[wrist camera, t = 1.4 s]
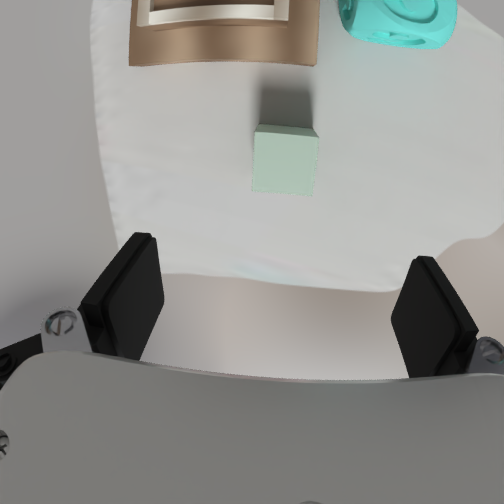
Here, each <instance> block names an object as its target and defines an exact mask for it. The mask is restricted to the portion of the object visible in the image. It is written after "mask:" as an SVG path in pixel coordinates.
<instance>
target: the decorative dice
mask: <svg viewBox="0 0 504 504" xmlns="http://www.w3.org/2000/svg"><path fill="white" fill-rule="evenodd" d="M338 1H339V10H340V16H341V21H342V24H343V27H344V28H345V30H347V31H348V32H349V33H350V34H351V35H352V36H353V37H355V38H357V39H361V40H364V41H369V42H374V43H379V44H385V45H392V46H399V47H408V48H419V49H437V48H440V47H441V46H443V45H444V44H445V43H446V42H447V41H448V40H449V38H450V37H451V35H452V33H453V30H454V27H455V24H456V18H457V1H456V0H338Z"/></svg>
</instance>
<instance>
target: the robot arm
mask: <svg viewBox="0 0 504 504" xmlns="http://www.w3.org/2000/svg"><path fill="white" fill-rule="evenodd" d="M163 305H164V291H163V285H162V279H161V272H160V264H159V257H158V249H157V242H156V238H154V237H152V236H151V234H150V233H140V232H135V233H134V234H133V235H132V236H131V237H130V238H129V240H128V241H127V242H126V243H125V245H124V246H123V247H122V248H121V250H120V251H119V252H118V253H117V255H116V256H115V257H114V258H113V260H112V261H111V262H110V263H109V265H108V266H107V267H106V269H105V270H104V271H103V272H102V274H101V275H100V276H99V278H98V279H97V280H96V282H95V283H94V285H93V286H92V287H91V288H90V290H89V291H88V293H87V294H86V296H85V297H84V298H83V300H82V301H81V305H80V306H79V307H78V309H77V310H76V309H75V308H72V307H62V308H58V309H55V310H53V311H52V312H50V313H49V314H47V315H46V317H45V318H44V319H43V321H42V323H41V329H40V330H41V333H40V334H37V335H35V336H32V337H30V338H27V339H25V340H22V341H20V342H17V343H15V344H12V345H10V346H7V347H5V348H3V349H0V504H504V347H503V345H502V344H500V342H498V341H497V340H495V339H493V338H491V337H481V338H480V339H478V340H477V338H476V335H477V333H478V332H479V330H478V328H477V326H476V324H475V322H474V321H473V319H472V317H471V316H470V314H469V312H468V310H467V309H466V307H465V306H464V304H463V302H462V301H461V299H460V297H459V296H458V294H457V292H456V291H455V289H454V288H453V286H452V285H451V283H450V282H449V280H448V279H447V277H446V276H445V274H444V273H443V271H442V270H441V268H440V267H439V265H438V264H437V262H436V261H435V259H434V258H433V257H429V256H418V257H417V258H416V259H413V261H412V262H411V265H410V268H409V271H408V274H407V276H406V279H405V282H404V284H403V287H402V290H401V292H400V295H399V297H398V300H397V302H396V305H395V307H394V310H393V312H392V316H391V323H392V326H393V329H394V332H395V335H396V338H397V341H398V344H399V346H400V349H401V353H402V355H403V359H404V362H405V365H406V368H407V372H408V375H409V378H406V379H386V380H306V379H285V378H270V377H257V376H245V375H235V374H225V373H217V372H208V371H201V370H193V369H187V368H180V367H173V366H167V365H160V364H155V363H148V362H143V361H139V360H140V357H141V355H142V353H143V351H144V348H145V346H146V344H147V341H148V339H149V337H150V334H151V332H152V330H153V327H154V325H155V323H156V321H157V318H158V316H159V314H160V312H161V309H162V307H163Z"/></svg>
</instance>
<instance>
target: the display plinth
mask: <svg viewBox="0 0 504 504" xmlns="http://www.w3.org/2000/svg"><path fill="white" fill-rule="evenodd" d="M319 7H320V0H132V7H131V21H130V40H129V66H151V65H161V64H172V63H187V62H213V61H241V62H267V63H282V64H294V65H304V66H312V67H313V66H314V65H316V62H317V47H318V29H319Z"/></svg>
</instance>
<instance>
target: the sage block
mask: <svg viewBox="0 0 504 504" xmlns="http://www.w3.org/2000/svg"><path fill="white" fill-rule="evenodd" d="M318 145H319V137H318V135H317V134H316V132H315V131H314V130H313V129H311V128H302V127H292V126H280V125H267V124H259V125H258V127H257V129H256V130H255V137H254V157H253V177H252V191H255V192H268V193H280V194H291V195H302V196H312V194H313V187H314V179H315V171H316V162H317V154H318Z"/></svg>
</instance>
